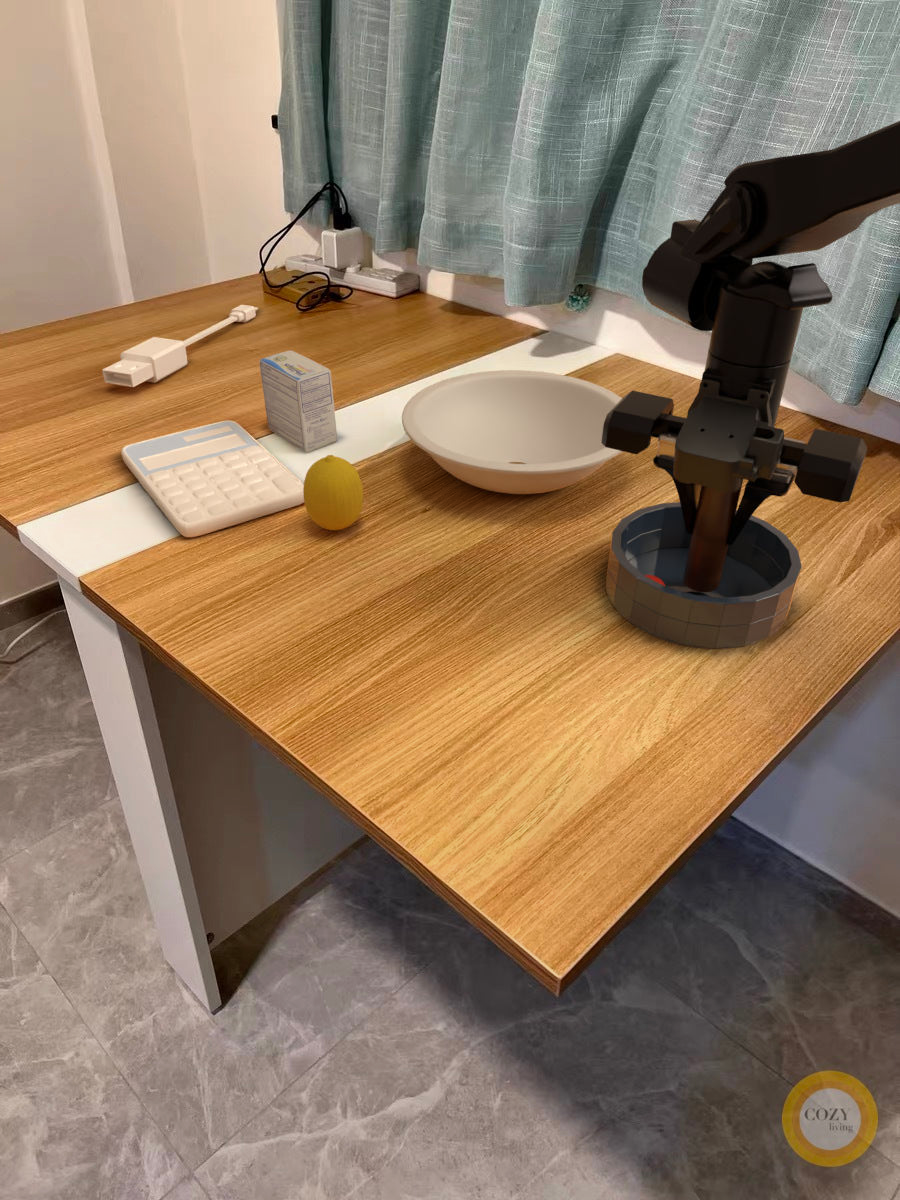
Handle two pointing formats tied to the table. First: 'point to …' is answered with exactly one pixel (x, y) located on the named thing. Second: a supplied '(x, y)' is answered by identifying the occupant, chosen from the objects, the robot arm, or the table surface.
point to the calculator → (212, 477)
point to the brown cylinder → (710, 539)
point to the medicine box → (299, 400)
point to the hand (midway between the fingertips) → (710, 537)
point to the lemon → (333, 493)
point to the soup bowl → (513, 428)
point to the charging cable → (163, 354)
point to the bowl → (687, 617)
